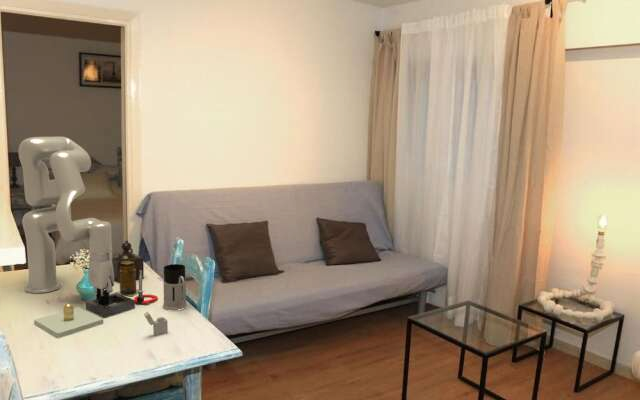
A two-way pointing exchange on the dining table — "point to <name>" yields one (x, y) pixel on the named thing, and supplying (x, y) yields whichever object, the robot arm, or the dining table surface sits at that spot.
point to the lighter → (157, 324)
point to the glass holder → (174, 287)
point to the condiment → (128, 279)
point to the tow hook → (140, 297)
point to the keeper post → (68, 312)
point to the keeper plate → (68, 322)
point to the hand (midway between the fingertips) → (102, 304)
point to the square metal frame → (121, 306)
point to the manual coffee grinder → (127, 257)
